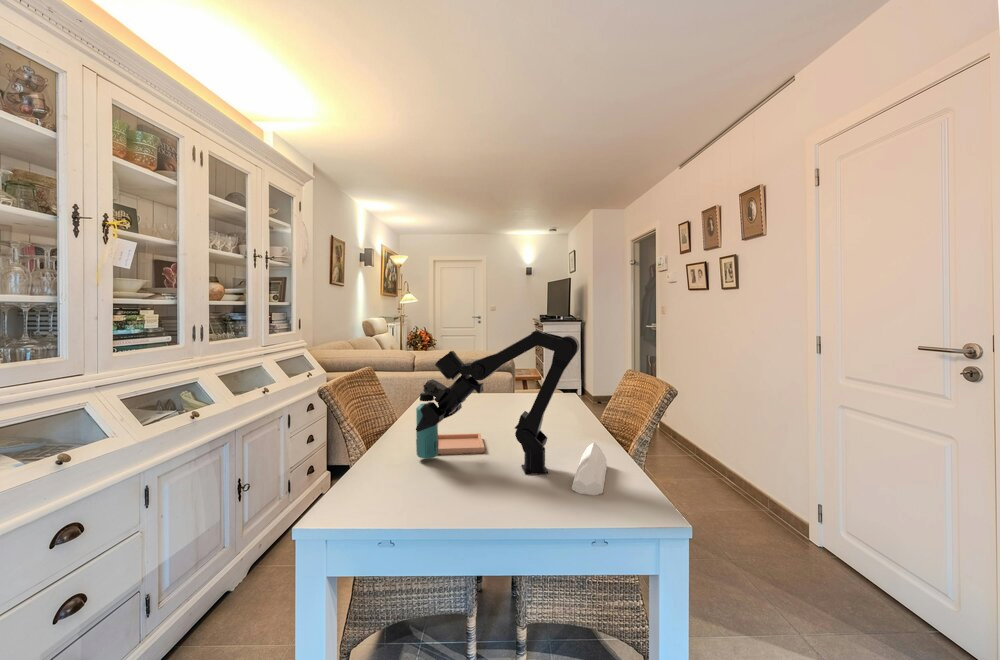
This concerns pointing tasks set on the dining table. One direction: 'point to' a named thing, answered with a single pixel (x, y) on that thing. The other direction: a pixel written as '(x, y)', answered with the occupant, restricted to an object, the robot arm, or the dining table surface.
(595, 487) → the crystal
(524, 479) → the dining table surface
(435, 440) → the beverage bottle
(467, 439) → the terracotta tray
